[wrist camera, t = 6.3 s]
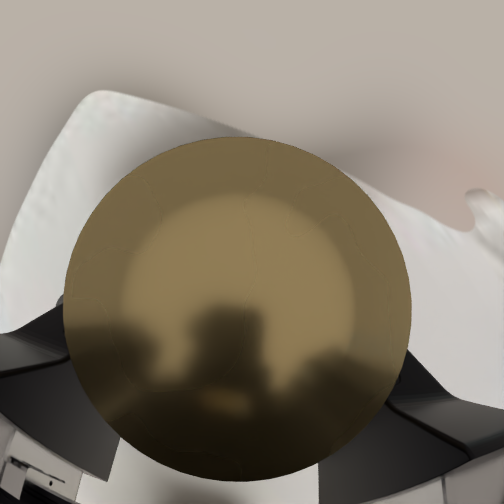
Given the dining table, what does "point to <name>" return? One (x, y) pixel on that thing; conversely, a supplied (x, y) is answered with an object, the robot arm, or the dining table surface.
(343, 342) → the disc
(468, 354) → the dining table surface
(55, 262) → the dining table surface
